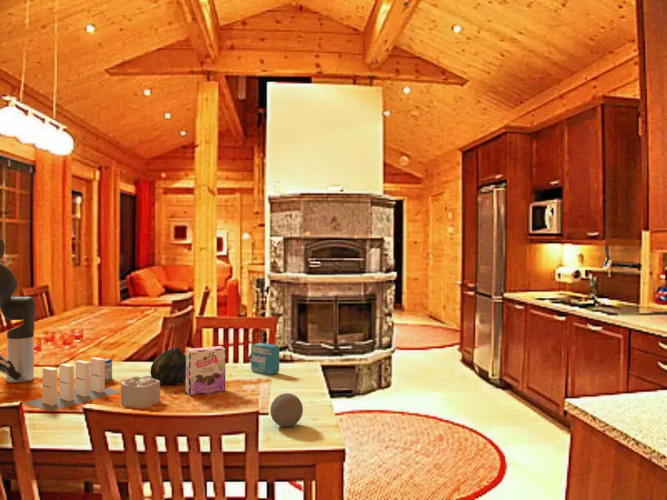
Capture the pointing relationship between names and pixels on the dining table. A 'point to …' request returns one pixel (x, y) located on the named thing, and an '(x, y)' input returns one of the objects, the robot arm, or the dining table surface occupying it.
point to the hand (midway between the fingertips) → (18, 377)
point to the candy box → (205, 370)
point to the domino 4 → (98, 374)
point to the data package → (265, 358)
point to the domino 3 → (83, 378)
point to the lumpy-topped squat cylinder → (140, 392)
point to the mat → (77, 400)
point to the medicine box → (106, 370)
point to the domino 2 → (66, 382)
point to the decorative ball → (286, 410)
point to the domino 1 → (50, 386)
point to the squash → (170, 367)
